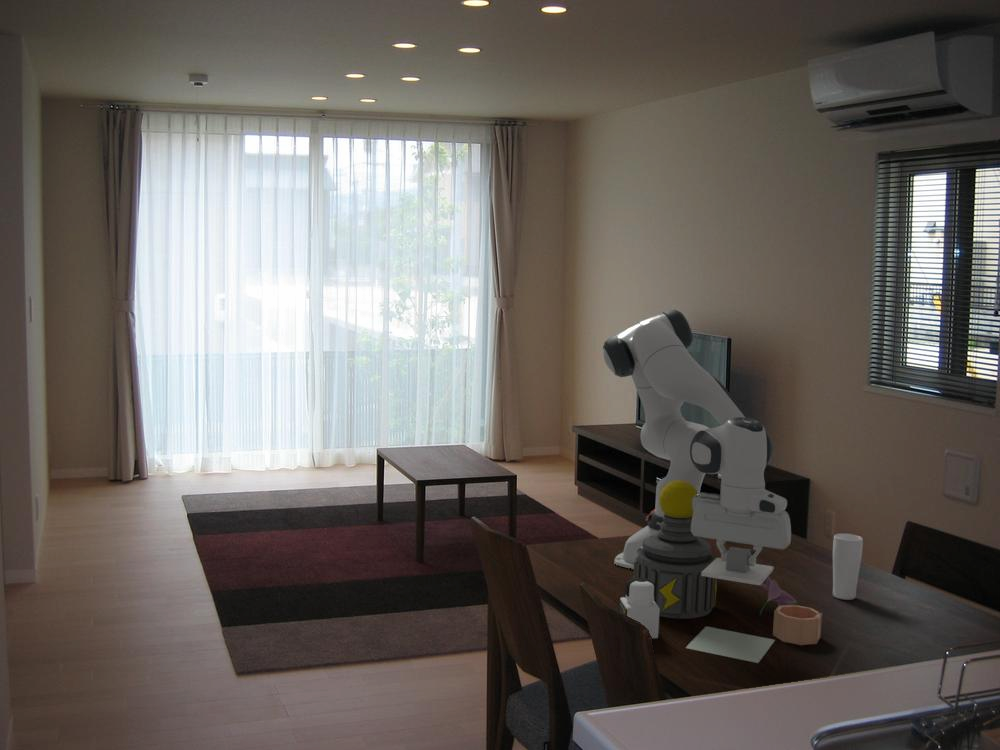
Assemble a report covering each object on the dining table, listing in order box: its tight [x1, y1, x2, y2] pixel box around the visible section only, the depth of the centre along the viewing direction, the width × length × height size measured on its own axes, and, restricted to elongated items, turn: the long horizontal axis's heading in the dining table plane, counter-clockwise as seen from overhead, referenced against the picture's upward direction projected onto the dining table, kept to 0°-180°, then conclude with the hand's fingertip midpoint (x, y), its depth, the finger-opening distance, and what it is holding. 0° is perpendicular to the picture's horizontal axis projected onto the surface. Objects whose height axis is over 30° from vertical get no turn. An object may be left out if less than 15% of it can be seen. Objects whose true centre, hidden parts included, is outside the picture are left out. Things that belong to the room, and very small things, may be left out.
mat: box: [685, 625, 776, 664], centre depth 219 cm, size 15×15×1 cm
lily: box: [758, 575, 798, 616], centre depth 240 cm, size 12×12×10 cm
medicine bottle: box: [619, 577, 660, 639], centre depth 223 cm, size 7×7×12 cm
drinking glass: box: [832, 533, 864, 601], centre depth 253 cm, size 7×7×15 cm
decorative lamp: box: [633, 480, 718, 620], centre depth 240 cm, size 19×19×30 cm
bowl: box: [772, 604, 823, 646], centre depth 224 cm, size 9×9×6 cm
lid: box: [701, 546, 774, 586], centre depth 217 cm, size 12×12×5 cm
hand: (738, 563), depth 217 cm, fingers closed on lid, 4 cm apart
